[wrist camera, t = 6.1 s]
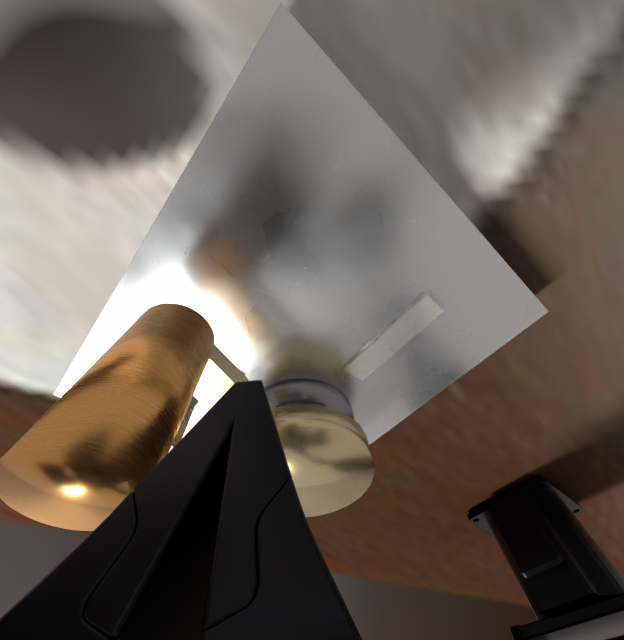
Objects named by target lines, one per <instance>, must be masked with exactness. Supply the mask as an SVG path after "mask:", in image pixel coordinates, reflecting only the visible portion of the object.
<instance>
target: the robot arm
mask: <svg viewBox="0 0 624 640" xmlns="http://www.w3.org/2000/svg"><path fill="white" fill-rule="evenodd" d="M582 511H583V508H582V507H581V506H580V504H579V503H578V502H576V501H575V500H574V499H572V498H571V497H570V496H568V495H567V494H566V493H564V492H563V491H562V490H560V489H559V488H558V487H556V486H555V485H554V484H552V483H551V482H550V481H548V480H547V479H546V478H544V477H542V476H538V477H535V478H533V479H531V480H529V481H527V482H525V483H524V484H522V485H520V486H518V487H516V488H514V489H513V490H511V491H509V492H507V493H505V494H503V495H502V496H500V497H498V498H496V499H494V500H492V501H490V502H489V503H487V504H485V505H483V506H481V507H479V508H478V509H476V510H474V511H472V512H470V513H469V514H468V515H467V517H468V519H469V521H470V522H471V523H472V524H474V525H476V526H478V527H479V528H481V529H483V530H485V531H487V532H489V533H491V534H492V535H494V536H495V538H496V540H497V542H498V543H499V545H500V547H501V549H502V551H503V553H504V555H505V557H506V559H507V561H508V563H509V565H510V567H511V568H512V570H513V572H514V574H515V576H516V578H517V580H518V582H519V584H520V586H521V588H522V590H523V592H524V594H525V595H526V597H527V599H528V601H529V603H530V605H531V607H532V609H533V611H534V613H535V615H536V617H537V619H538V621H535V622H531V623H528V624H525V625H522V626H520V625H515V626H512V627H511V632H512V634H513V637H514V640H603V639H607V638H611V637H614V636H618V635H621V634H624V579H623V578H622V576H621V575H620V574H619V572H618V571H617V570H616V568H615V567H614V566H613V565H612V563H611V562H610V561H609V559H608V558H607V557H606V556H605V554H604V553H603V552H602V550H601V549H600V548H599V546H598V545H597V544H596V543H595V541H594V540H593V539H592V537H591V536H590V535H589V533H588V532H587V531H586V530H585V528H584V527H583V526H582V524H581V523H580V522H579V520H578V519H577V518H576V517H575V515H576V514H578V513H580V512H582ZM0 640H362V638H361V636H360V634H359V632H358V630H357V628H356V626H355V624H354V621H353V619H352V617H351V615H350V613H349V611H348V609H347V607H346V605H345V602H344V601H343V598H342V596H341V594H340V592H339V590H338V588H337V585H336V583H335V581H334V579H333V577H332V575H331V573H330V571H329V569H328V566H327V564H326V562H325V560H324V558H323V556H322V554H321V552H320V549H319V547H318V545H317V543H316V540H315V538H314V536H313V534H312V531H311V529H310V527H309V524H308V522H307V520H306V517H305V514H304V511H303V508H302V506H301V503H300V500H299V497H298V494H297V491H296V488H295V484H294V481H293V480H292V475H291V472H290V469H289V466H288V462H287V459H286V456H285V453H284V449H283V446H282V443H281V440H280V437H279V433H278V430H277V427H276V424H275V420H274V417H273V414H272V411H271V408H270V404H269V401H268V398H267V395H266V391H265V388H264V385H263V382H262V380H252V381H240V382H236V383H234V384H233V385H232V386H231V387H230V388H229V390H228V391H227V392H226V393H225V394H224V395H223V396H222V397H221V398H220V399H219V400H218V401H217V402H216V403H215V404H214V405H213V406H212V407H211V408H210V410H209V411H208V412H207V413H206V414H205V415H204V416H203V417H202V418H201V419H200V420H199V421H198V422H197V423H196V424H195V425H194V426H193V427H192V428H191V430H190V431H189V432H188V433H187V434H186V435H185V436H184V437H183V438H182V439H181V440H180V441H179V442H178V443H177V444H176V445H175V446H174V447H173V449H172V450H171V451H170V452H169V453H168V454H167V455H166V456H165V457H164V458H163V459H162V460H161V461H160V462H159V463H158V464H157V465H156V466H155V467H154V469H153V470H152V471H151V472H150V473H149V474H148V475H147V476H146V477H145V478H144V479H143V480H142V481H141V482H140V483H139V484H138V485H137V486H136V487H135V489H134V492H131V493H130V494H129V495H128V496H127V497H126V498H125V499H124V500H123V501H122V502H121V503H120V504H119V505H118V506H117V507H116V508H115V509H114V510H113V511H112V512H111V513H110V514H109V516H108V517H107V518H106V519H105V520H104V521H103V522H102V523H101V524H100V525H99V526H98V527H97V528H96V529H95V530H94V531H93V532H92V533H91V534H90V535H89V536H88V537H87V538H86V539H85V540H84V541H83V542H81V543H80V544H79V546H77V547H76V548H75V549H74V550H73V551H72V552H71V553H70V554H69V555H68V556H67V557H66V558H65V559H64V560H63V561H62V562H61V563H59V564H58V565H57V566H56V567H55V568H54V569H53V570H52V571H51V572H50V573H49V574H48V575H47V576H46V577H44V578H43V579H42V580H41V581H40V582H39V583H38V584H37V585H36V586H35V587H34V588H33V589H32V590H31V591H29V592H28V593H27V594H26V595H25V596H24V597H23V598H22V599H21V600H20V601H19V602H18V603H17V604H15V605H14V606H13V607H12V608H11V609H10V610H9V611H8V612H7V613H6V614H5V615H4V616H3V617H1V619H0ZM609 640H624V635H623V636H619V637H616V638H613V639H609Z"/></svg>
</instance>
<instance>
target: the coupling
mask: <svg viewBox="0 0 624 640" xmlns="http://www.w3.org/2000/svg"><path fill="white" fill-rule="evenodd" d="M240 381H250V380H249V379H248V378H247V377H246V376H245V375H244V374H243V373H242V372H241V371H240V370H239V369H238V368H237V367H236V366H235V365H234V364H233V363H232V362H231V361H230V360H229V359H228V358H227V357H226V356H225V355H224V354H223V353H222V352H221V351H220V350H219V348H218V347H217V346H216V345H215V337H214V333H213V330H212V328H211V326H210V324H209V323H208V321H207V320H206V319H205V318H204V317H203V316H202V315H201V314H199V313H198V312H197V311H195V310H193V309H191V308H189V307H187V306H184V305H180V304H175V303H163V304H158V305H155V306H152V307H150V308H149V309H147V310H146V311H145V312H144V313H143V314H142V315H141V316H140V317H139V318H138V319H137V320H136V321H135V322H134V323H133V324H132V325H131V326H130V327H129V328H128V329H127V330H126V331H125V332H124V333H123V334H122V335H121V336H120V337H119V338H118V339H117V340H116V341H115V342H114V343H113V345H112V346H111V347H110V348H109V349H108V350H107V351H106V352H105V353H104V354H103V355H102V356H101V357H100V358H99V359H98V360H97V361H96V362H95V363H94V364H93V365H92V366H91V367H90V368H89V369H88V370H87V371H86V372H85V373H84V374H83V375H82V376H81V377H80V378H79V379H78V380H77V381H76V382H75V383H74V384H73V385H72V386H71V387H70V388H69V390H68V391H67V392H66V393H65V394H64V395H63V396H62V397H61V398H60V399H59V400H58V401H57V402H56V403H55V404H54V405H53V406H52V407H51V408H50V409H49V410H48V411H47V412H46V413H45V414H44V415H43V416H42V417H41V418H40V419H39V420H38V421H37V422H36V423H35V424H34V425H33V426H32V427H31V428H30V429H29V430H28V431H27V432H26V433H25V435H24V436H23V437H22V438H21V439H20V440H19V441H18V442H17V443H16V444H15V445H14V446H13V447H12V448H11V449H10V450H9V451H8V452H7V453H6V454H5V455H4V456H3V457H2V458H1V459H0V499H1V500H3V501H4V502H5V503H6V504H7V505H8V506H10V507H11V508H12V509H14V510H16V511H17V512H19V513H21V514H23V515H25V516H27V517H29V518H31V519H33V520H36V521H38V522H41V523H44V524H48V525H51V526H55V527H60V528H64V529H71V530H80V531H94V530H95V529H96V528H97V527H98V526H99V525H100V524H101V523H102V522H103V521H104V520H105V519H106V518H107V517H108V516H109V514H110V513H111V512H112V511H113V510H114V509H115V508H116V507H117V506H118V505H119V504H120V503H121V502H122V501H123V500H124V499H125V498H126V497H127V496H128V495H129V494H130V493H131V492H134V489H135V487H136V486H137V485H138V484H139V483H140V482H141V481H142V480H143V479H144V478H145V477H146V476H147V475H148V474H149V473H150V472H151V471H152V470H153V469H154V467H155V466H156V465H157V464H158V463H159V462H160V461H161V460H162V459H163V458H164V457H165V456H166V455H167V454H168V452H169V450H170V448H171V445H172V443H173V441H174V438H175V436H176V434H177V432H178V429H179V427H180V425H181V422H182V420H183V418H184V415H185V413H186V411H187V408H188V406H189V404H190V402H191V399H192V397H193V396H194V397H195V398H197V399H198V400H199V401H200V402H201V403H202V404H203V405H205V406H206V407H207V408H208V409H209V410H210V408H211V407H212V406H213V405H214V404H215V403H216V402H217V401H218V400H219V399H220V398H221V397H222V396H223V395H224V394H225V393H226V392H227V391H228V390H229V388H230V387H231V386H232V385H233V384H234V383H236V382H240ZM268 401H269V400H268ZM269 404H270V408H271V411H272V414H273V417H274V420H275V424H276V427H277V430H278V433H279V437H280V440H281V443H282V446H283V449H284V453H285V456H286V459H287V462H288V466H289V469H290V472H291V475H292V480H293V481H294V484H295V488H296V491H297V494H298V497H299V500H300V503H301V506H302V508H303V511H304V514H305V517H313V516H319V515H323V514H327V513H331V512H334V511H337V510H339V509H342V508H344V507H346V506H348V505H349V504H351V503H353V502H354V501H356V500H357V499H358V498H359V497H361V496H362V495H363V494H364V493H365V491H366V490H367V489H368V487H369V486H370V484H371V482H372V480H373V476H374V464H373V460H372V456H371V452H370V448H369V444H368V439H367V436H366V434H365V432H364V430H363V429H362V427H361V426H360V425H359V424H358V423H357V422H356V421H355V420H354V419H353V418H351V417H350V416H348V415H347V414H345V413H343V412H341V411H338V410H336V409H333V408H330V407H327V406H321V405H315V404H291V405H285V406H280V407H275V406H274V405H273V404H272V403H271V402H270V401H269Z"/></svg>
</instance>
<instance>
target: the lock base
mask: <svg viewBox="0 0 624 640" xmlns="http://www.w3.org/2000/svg"><path fill="white" fill-rule="evenodd" d="M163 303H175V304H180V305H184V306H187V307H189V308H191V309H193V310H195V311H197V312H198V313H199V314H201V315H202V316H203V317H204V318H205V319H206V320H207V321H208V323H209V324H210V326H211V328H212V330H213V333H214V337H215V345H216V346H217V347H218V348H219V350H220V351H221V352H222V353H223V354H224V355H225V356H226V357H227V358H228V359H229V360H230V361H231V362H232V363H233V364H234V365H235V366H236V367H237V368H238V369H239V370H240V371H241V372H242V373H243V374H244V375H245V376H246V377H247V378H248V379H249V380H250V381H252V380H262V382H263V385H264V388H265V391H266V395H267V398H268V400H269V401H270V402H271V403H272V404H273V405H274V406H275V407H280V406H285V405H291V404H315V405H321V406H327V407H330V408H333V409H336V410H338V411H341V412H343V413H345V414H347V415H348V416H350V417H351V418H353V419H354V420H355V421H356V422H357V423H358V424H359V425H360V426H361V427H362V429H363V430H364V432H365V434H366V436H367V439H368V444H369V445H370V444H371V443H373V442H374V441H375V440H377V439H378V438H379V437H381V436H382V435H383V434H385V433H386V432H387V431H389V430H390V429H391V428H393V427H394V426H395V425H397V424H398V423H399V422H401V421H402V420H403V419H405V418H406V417H407V416H409V415H410V414H412V413H413V412H414V411H416V410H417V409H418V408H420V407H421V406H422V405H424V404H425V403H426V402H428V401H429V400H430V399H432V398H433V397H434V396H436V395H437V394H438V393H440V392H441V391H442V390H444V389H445V388H446V387H448V386H449V385H450V384H452V383H453V382H455V381H456V380H457V379H459V378H460V377H461V376H463V375H464V374H465V373H467V372H468V371H469V370H471V369H472V368H473V367H475V366H476V365H477V364H479V363H480V362H481V361H483V360H484V359H485V358H487V357H488V356H489V355H491V354H492V353H494V352H495V351H496V350H498V349H499V348H500V347H502V346H503V345H504V344H506V343H507V342H508V341H510V340H511V339H512V338H514V337H515V336H516V335H518V334H519V333H520V332H522V331H523V330H524V329H526V328H527V327H528V326H530V325H531V324H532V323H534V322H535V321H537V320H538V319H539V318H541V317H542V316H543V315H545V314H546V313H547V312H548V310H547V309H546V308H545V307H544V306H543V305H542V303H541V302H540V301H539V300H538V299H537V298H536V296H535V295H534V294H533V293H532V292H531V291H530V290H529V288H528V287H527V286H526V285H525V284H524V283H523V281H522V280H521V279H520V278H519V277H518V276H517V274H516V273H515V272H514V271H513V270H512V269H511V268H510V266H509V265H508V264H507V263H506V262H505V261H504V259H503V258H502V257H501V256H500V255H499V254H498V252H497V251H496V250H495V249H494V248H493V247H492V246H491V244H490V243H489V242H488V241H487V240H486V239H485V237H484V236H483V235H482V234H481V233H480V232H479V231H478V229H477V228H476V227H475V226H474V225H473V224H472V222H471V221H470V220H469V219H468V218H467V217H466V215H465V214H464V213H463V212H462V211H461V210H460V209H459V207H458V206H457V205H456V204H455V203H454V202H453V200H452V199H451V198H450V197H449V196H448V195H447V193H446V192H445V191H444V190H443V189H442V188H441V187H440V185H439V184H438V183H437V182H436V181H435V180H434V178H433V177H432V176H431V175H430V174H429V173H428V172H427V170H426V169H425V168H424V167H423V166H422V165H421V163H420V162H419V161H418V160H417V159H416V158H415V156H414V155H413V154H412V153H411V152H410V151H409V150H408V148H407V147H406V146H405V145H404V144H403V143H402V141H401V140H400V139H399V138H398V137H397V136H396V134H395V133H394V132H393V131H392V130H391V129H390V128H389V126H388V125H387V124H386V123H385V122H384V121H383V119H382V118H381V117H380V116H379V115H378V114H377V112H376V111H375V110H374V109H373V108H372V107H371V106H370V104H369V103H368V102H367V101H366V100H365V99H364V97H363V96H362V95H361V94H360V93H359V92H358V91H357V89H356V88H355V87H354V86H353V85H352V84H351V82H350V81H349V80H348V79H347V78H346V77H345V75H344V74H343V73H342V72H341V71H340V70H339V69H338V67H337V66H336V65H335V64H334V63H333V62H332V60H331V59H330V58H329V57H328V56H327V55H326V53H325V52H324V51H323V50H322V49H321V48H320V47H319V45H318V44H317V43H316V42H315V41H314V40H313V38H312V37H311V36H310V35H309V34H308V33H307V32H306V30H305V29H304V28H303V27H302V26H301V25H300V23H299V22H298V21H297V20H296V19H295V18H294V16H293V15H292V14H291V13H290V12H289V11H288V10H287V8H286V7H285V6H284V5H283V4H282V3H281V5H280V6H279V8H278V10H277V11H276V13H275V15H274V17H273V18H272V20H271V22H270V23H269V25H268V27H267V29H266V30H265V32H264V34H263V36H262V37H261V39H260V41H259V42H258V44H257V46H256V48H255V49H254V51H253V53H252V54H251V56H250V58H249V60H248V61H247V63H246V65H245V66H244V68H243V70H242V72H241V73H240V75H239V77H238V79H237V80H236V82H235V84H234V85H233V87H232V89H231V91H230V92H229V94H228V96H227V97H226V99H225V101H224V103H223V104H222V106H221V108H220V110H219V111H218V113H217V115H216V116H215V118H214V120H213V122H212V123H211V125H210V127H209V128H208V130H207V132H206V134H205V135H204V137H203V139H202V140H201V142H200V144H199V146H198V147H197V149H196V151H195V153H194V154H193V156H192V158H191V159H190V161H189V163H188V165H187V166H186V168H185V170H184V171H183V173H182V175H181V177H180V178H179V180H178V182H177V183H176V185H175V187H174V189H173V190H172V192H171V194H170V196H169V197H168V199H167V201H166V202H165V204H164V206H163V208H162V209H161V211H160V213H159V214H158V216H157V218H156V220H155V221H154V223H153V225H152V227H151V228H150V230H149V232H148V233H147V235H146V237H145V239H144V240H143V242H142V244H141V245H140V247H139V249H138V251H137V252H136V254H135V256H134V257H133V259H132V261H131V263H130V264H129V266H128V268H127V270H126V271H125V273H124V275H123V276H122V278H121V280H120V282H119V283H118V285H117V287H116V288H115V290H114V292H113V294H112V295H111V297H110V299H109V300H108V302H107V304H106V306H105V307H104V309H103V311H102V313H101V314H100V316H99V318H98V319H97V321H96V323H95V325H94V326H93V328H92V330H91V331H90V333H89V335H88V337H87V338H86V340H85V342H84V343H83V345H82V347H81V349H80V350H79V352H78V354H77V356H76V357H75V359H74V361H73V362H72V364H71V366H70V368H69V369H68V371H67V373H66V374H65V376H64V378H63V380H62V381H61V383H60V385H59V387H58V388H57V390H56V392H55V393H54V395H56V396H59V397H62V396H63V395H64V394H65V393H66V392H67V391H68V390H69V388H70V387H71V386H72V385H73V384H74V383H75V382H76V381H77V380H78V379H79V378H80V377H81V376H82V375H83V374H84V373H85V372H86V371H87V370H88V369H89V368H90V367H91V366H92V365H93V364H94V363H95V362H96V361H97V360H98V359H99V358H100V357H101V356H102V355H103V354H104V353H105V352H106V351H107V350H108V349H109V348H110V347H111V346H112V345H113V343H114V342H115V341H116V340H117V339H118V338H119V337H120V336H121V335H122V334H123V333H124V332H125V331H126V330H127V329H128V328H129V327H130V326H131V325H132V324H133V323H134V322H135V321H136V320H137V319H138V318H139V317H140V316H141V315H142V314H143V313H144V312H145V311H146V310H147V309H149V308H150V307H152V306H155V305H158V304H163ZM208 411H209V409H208V408H207V407H206V406H205V405H203V404H202V403H201V402H200V401H199V400H198V399H197V398H195V397H194V396H193V397H192V399H191V402H190V404H189V406H188V408H187V411H186V413H185V415H184V418H183V420H182V422H181V425H180V427H179V429H178V432H177V434H176V436H175V438H174V441H173V443H172V445H171V448H170V450H169V452H170V451H171V450H172V449H173V447H174V446H175V445H176V444H177V443H178V442H179V441H180V440H181V439H182V438H183V437H184V436H185V435H186V434H187V433H188V432H189V431H190V430H191V428H192V427H193V426H194V425H195V424H196V423H197V422H198V421H199V420H200V419H201V418H202V417H203V416H204V415H205V414H206V413H207V412H208ZM169 452H168V453H169Z"/></svg>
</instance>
